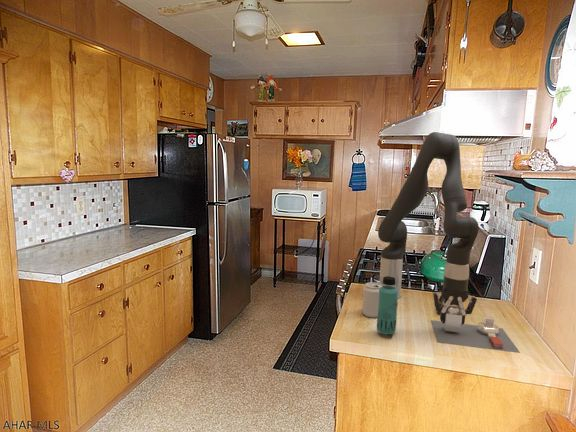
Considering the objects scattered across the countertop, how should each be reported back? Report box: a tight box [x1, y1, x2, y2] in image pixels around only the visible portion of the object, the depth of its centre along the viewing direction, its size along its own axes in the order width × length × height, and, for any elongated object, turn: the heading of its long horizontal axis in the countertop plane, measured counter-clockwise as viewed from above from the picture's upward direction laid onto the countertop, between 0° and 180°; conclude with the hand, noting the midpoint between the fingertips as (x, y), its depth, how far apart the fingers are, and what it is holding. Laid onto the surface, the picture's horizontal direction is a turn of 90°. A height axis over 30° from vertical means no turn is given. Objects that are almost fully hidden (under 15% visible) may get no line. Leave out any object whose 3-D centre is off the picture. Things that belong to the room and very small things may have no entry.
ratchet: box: [477, 315, 503, 349], centre depth 125 cm, size 6×15×5 cm, turn 166°
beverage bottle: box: [376, 276, 399, 335], centre depth 127 cm, size 6×7×20 cm
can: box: [361, 282, 382, 319], centre depth 144 cm, size 8×8×12 cm
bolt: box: [436, 295, 444, 316], centre depth 150 cm, size 6×5×15 cm
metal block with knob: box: [442, 305, 462, 333], centre depth 129 cm, size 5×5×8 cm
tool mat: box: [429, 319, 521, 354], centre depth 127 cm, size 24×18×1 cm
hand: (451, 323), depth 130 cm, fingers closed on metal block with knob, 5 cm apart
